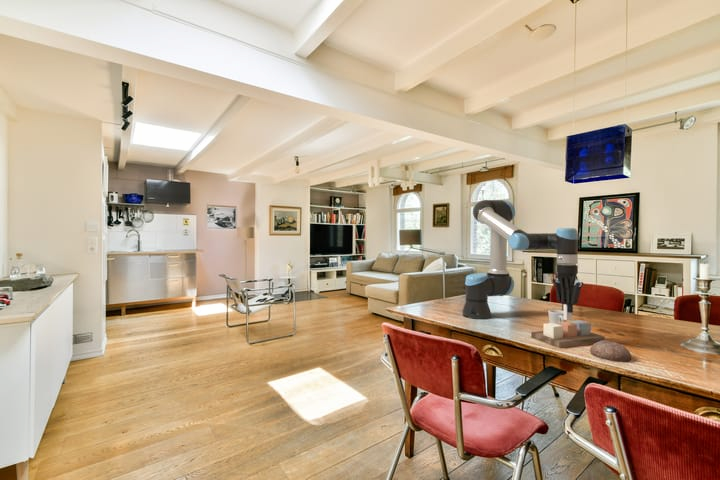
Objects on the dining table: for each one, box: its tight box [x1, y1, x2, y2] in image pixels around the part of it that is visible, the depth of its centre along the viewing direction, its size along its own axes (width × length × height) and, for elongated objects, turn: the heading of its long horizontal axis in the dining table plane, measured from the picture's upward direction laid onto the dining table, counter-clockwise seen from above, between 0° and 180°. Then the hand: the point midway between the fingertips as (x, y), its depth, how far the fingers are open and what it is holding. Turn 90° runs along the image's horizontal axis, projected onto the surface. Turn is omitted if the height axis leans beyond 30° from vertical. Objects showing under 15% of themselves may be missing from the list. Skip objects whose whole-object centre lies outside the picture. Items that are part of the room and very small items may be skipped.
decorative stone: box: [589, 339, 632, 363], centre depth 118 cm, size 12×12×6 cm
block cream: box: [542, 322, 563, 339], centre depth 135 cm, size 5×5×5 cm
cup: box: [547, 309, 568, 324], centre depth 153 cm, size 11×8×8 cm
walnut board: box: [530, 330, 606, 349], centre depth 137 cm, size 14×24×2 cm, turn 106°
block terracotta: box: [557, 321, 577, 337], centre depth 137 cm, size 5×5×5 cm
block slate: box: [570, 319, 592, 335], centre depth 139 cm, size 5×5×5 cm
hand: (567, 319), depth 136 cm, fingers closed
